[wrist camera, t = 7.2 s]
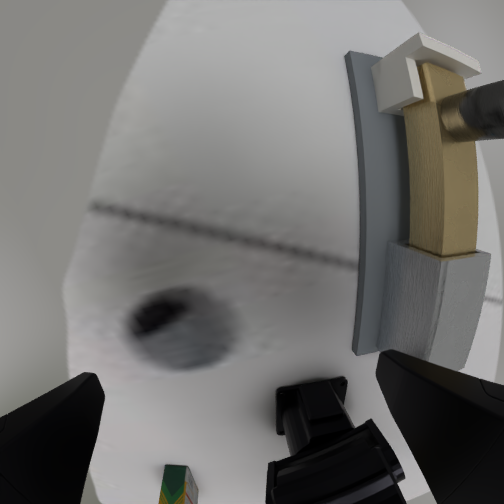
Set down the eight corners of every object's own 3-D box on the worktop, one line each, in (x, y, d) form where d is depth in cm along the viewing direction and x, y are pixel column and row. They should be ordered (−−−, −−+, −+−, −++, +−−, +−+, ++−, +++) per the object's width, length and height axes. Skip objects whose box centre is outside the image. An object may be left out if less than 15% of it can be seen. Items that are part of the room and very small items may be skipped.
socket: (434, 122, 17) (490, 110, 10) (378, 111, 16) (433, 88, 10) (427, 81, 16) (478, 61, 10) (370, 67, 15) (418, 32, 9)
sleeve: (423, 334, 21) (463, 367, 15) (375, 347, 20) (413, 389, 14) (437, 237, 19) (490, 253, 13) (386, 240, 18) (441, 261, 12)
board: (430, 330, 22) (436, 334, 21) (352, 350, 21) (356, 356, 20) (430, 77, 17) (437, 74, 16) (344, 55, 16) (349, 50, 15)
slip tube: (440, 267, 18) (522, 306, 9) (407, 273, 17) (493, 321, 9) (433, 88, 14) (513, 60, 6) (397, 78, 14) (479, 36, 6)
